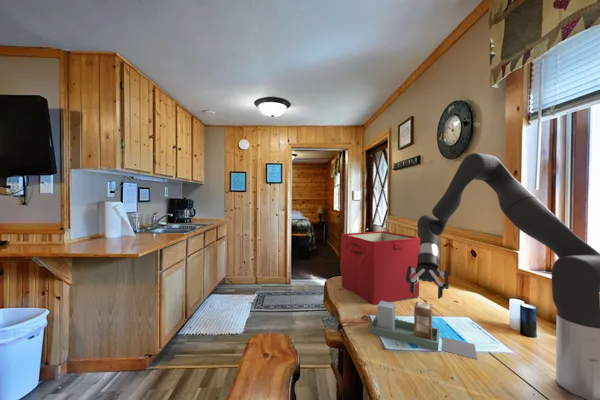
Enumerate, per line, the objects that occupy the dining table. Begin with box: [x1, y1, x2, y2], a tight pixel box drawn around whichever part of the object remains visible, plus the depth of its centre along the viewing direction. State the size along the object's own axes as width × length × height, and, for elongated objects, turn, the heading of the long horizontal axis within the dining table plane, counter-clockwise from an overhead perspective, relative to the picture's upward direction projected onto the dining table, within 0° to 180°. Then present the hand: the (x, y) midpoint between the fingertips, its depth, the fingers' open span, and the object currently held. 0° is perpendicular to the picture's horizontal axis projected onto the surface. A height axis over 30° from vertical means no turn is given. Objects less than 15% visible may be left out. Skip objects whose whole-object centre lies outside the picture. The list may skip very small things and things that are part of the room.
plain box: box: [377, 301, 396, 331], centre depth 94 cm, size 5×5×9 cm
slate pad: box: [441, 336, 478, 361], centre depth 83 cm, size 9×9×1 cm
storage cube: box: [341, 230, 420, 306], centre depth 133 cm, size 32×28×29 cm
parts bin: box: [368, 314, 441, 351], centre depth 91 cm, size 21×10×3 cm, turn 60°
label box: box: [413, 301, 433, 340], centre depth 88 cm, size 5×6×11 cm
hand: (425, 295), depth 94 cm, fingers open, 8 cm apart
